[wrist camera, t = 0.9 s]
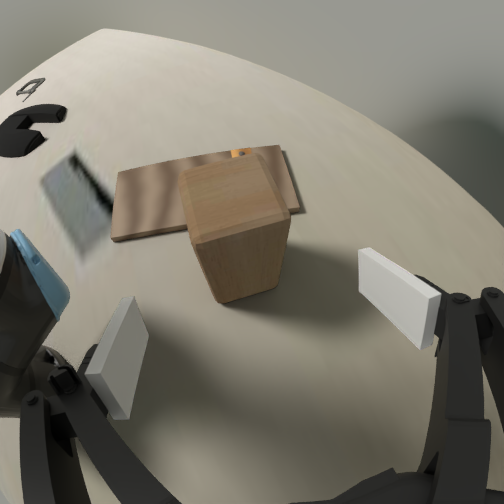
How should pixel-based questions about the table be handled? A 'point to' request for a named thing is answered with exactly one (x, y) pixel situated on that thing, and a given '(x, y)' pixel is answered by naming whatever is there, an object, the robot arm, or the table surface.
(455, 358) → the robot arm
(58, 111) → the black notched oval shell
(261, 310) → the table surface
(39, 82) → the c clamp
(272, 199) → the wooden block
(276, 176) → the floor board
